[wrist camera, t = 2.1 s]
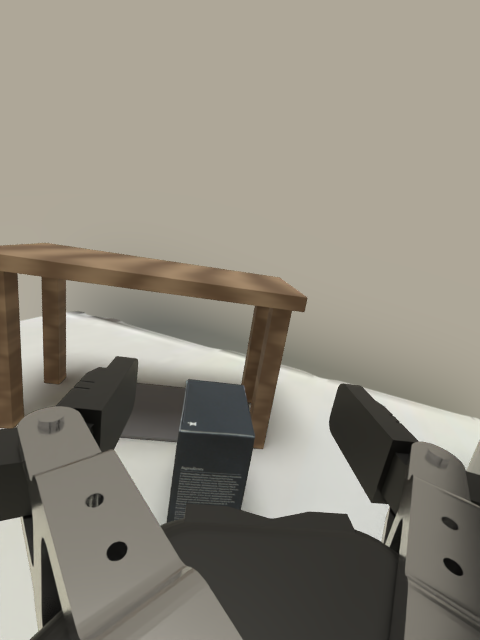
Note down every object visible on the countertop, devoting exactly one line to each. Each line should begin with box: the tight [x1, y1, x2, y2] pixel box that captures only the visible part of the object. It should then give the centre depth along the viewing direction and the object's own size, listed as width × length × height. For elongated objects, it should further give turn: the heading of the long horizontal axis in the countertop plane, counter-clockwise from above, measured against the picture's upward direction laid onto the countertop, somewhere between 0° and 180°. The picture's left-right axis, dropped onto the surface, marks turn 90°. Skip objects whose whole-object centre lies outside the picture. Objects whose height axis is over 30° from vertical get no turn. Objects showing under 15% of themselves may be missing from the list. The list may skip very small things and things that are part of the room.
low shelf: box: [0, 243, 307, 449], centre depth 37 cm, size 32×14×19 cm, turn 94°
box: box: [167, 379, 255, 523], centre depth 26 cm, size 8×6×11 cm
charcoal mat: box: [120, 383, 186, 442], centre depth 40 cm, size 14×12×1 cm
